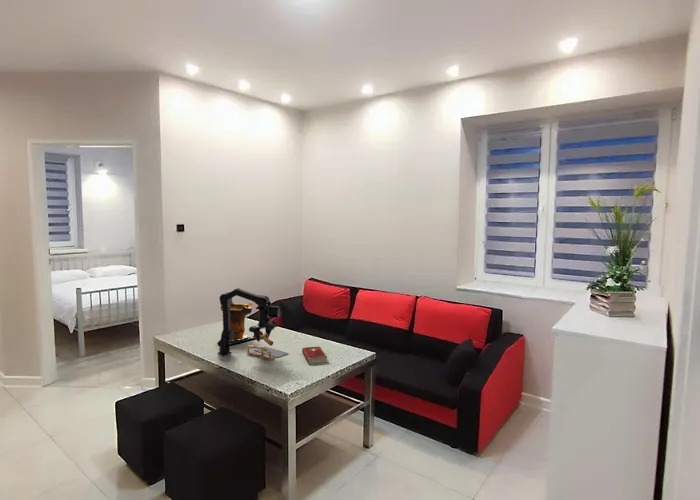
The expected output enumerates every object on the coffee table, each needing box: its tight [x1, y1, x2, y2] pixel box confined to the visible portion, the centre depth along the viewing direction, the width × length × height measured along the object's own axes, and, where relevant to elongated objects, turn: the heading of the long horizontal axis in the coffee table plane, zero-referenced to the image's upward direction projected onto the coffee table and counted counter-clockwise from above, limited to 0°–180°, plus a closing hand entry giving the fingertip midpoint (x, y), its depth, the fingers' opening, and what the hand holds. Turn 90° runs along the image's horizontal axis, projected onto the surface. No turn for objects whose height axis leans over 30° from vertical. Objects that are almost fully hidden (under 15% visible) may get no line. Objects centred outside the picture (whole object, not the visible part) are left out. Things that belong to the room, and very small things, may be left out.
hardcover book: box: [301, 345, 328, 365], centre depth 259 cm, size 12×21×4 cm, turn 17°
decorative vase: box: [220, 301, 253, 342], centre depth 295 cm, size 21×23×28 cm
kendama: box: [253, 330, 274, 346], centre depth 258 cm, size 8×6×18 cm
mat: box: [253, 345, 289, 359], centre depth 267 cm, size 22×10×1 cm, turn 55°
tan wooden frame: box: [246, 344, 275, 361], centre depth 259 cm, size 21×4×6 cm, turn 55°
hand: (263, 340), depth 259 cm, fingers closed on kendama, 7 cm apart
